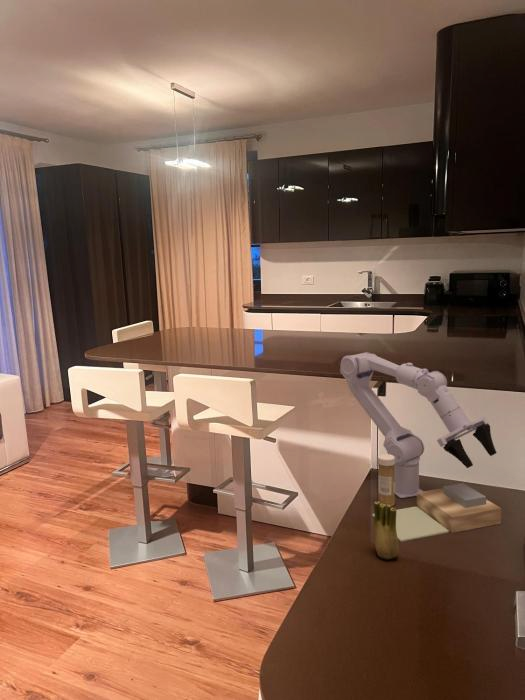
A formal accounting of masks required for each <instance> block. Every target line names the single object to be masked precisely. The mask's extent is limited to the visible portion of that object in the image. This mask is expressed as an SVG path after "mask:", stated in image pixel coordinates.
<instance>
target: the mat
mask: <svg viewBox="0 0 525 700" xmlns="http://www.w3.org/2000/svg"><path fill="white" fill-rule="evenodd" d="M396 511H397V512H396V532H397V537H398V542H401V543H402V542H407V541H412V540H418V539H422V538H427V537H433V536H437V535H443V534H448V533H450V531H449V530H447V529H446V528H445V527H443V526H442V525H441V524H439V523H438V522H437V521H435V520H434V519H433V518H431V517H430V516H429V515H427V514H426V513H425V512H423V511H422V510H420V509H419V508H418V507H417V506H411V507H404V508H400V509H396ZM374 515H375V513H372V514H371V516H372V517H373V518H374Z"/></svg>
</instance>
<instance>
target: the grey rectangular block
mask: <svg viewBox="0 0 525 700" xmlns="http://www.w3.org/2000/svg"><path fill="white" fill-rule="evenodd" d="M442 488H443V494H445V495H446V496H448V497H449V498H451V499H452V500H454V501H455V502H457V503H459V504H460V505H462V506H463V507H465V508H469V507H474V506H480V505H485V504H486V499H487V496H486V495H484V494H482V493H480V492H479V491H477V490H475V489H474V488H472V487H470V486H469V485H466V484H465V483H463V482H462V483H456V484H450V485H444V486H443V487H442Z"/></svg>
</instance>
